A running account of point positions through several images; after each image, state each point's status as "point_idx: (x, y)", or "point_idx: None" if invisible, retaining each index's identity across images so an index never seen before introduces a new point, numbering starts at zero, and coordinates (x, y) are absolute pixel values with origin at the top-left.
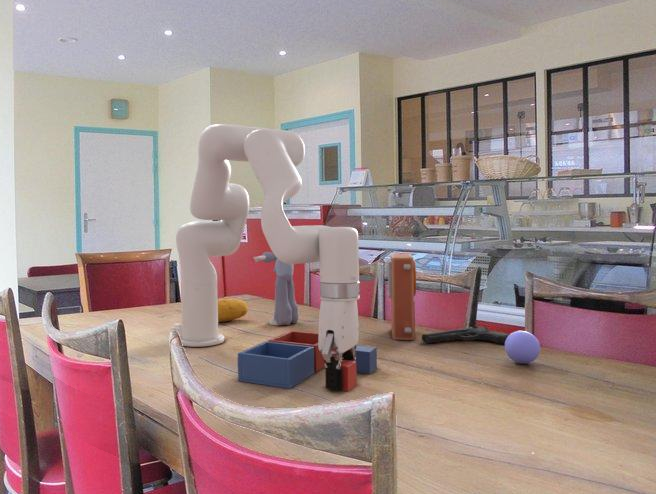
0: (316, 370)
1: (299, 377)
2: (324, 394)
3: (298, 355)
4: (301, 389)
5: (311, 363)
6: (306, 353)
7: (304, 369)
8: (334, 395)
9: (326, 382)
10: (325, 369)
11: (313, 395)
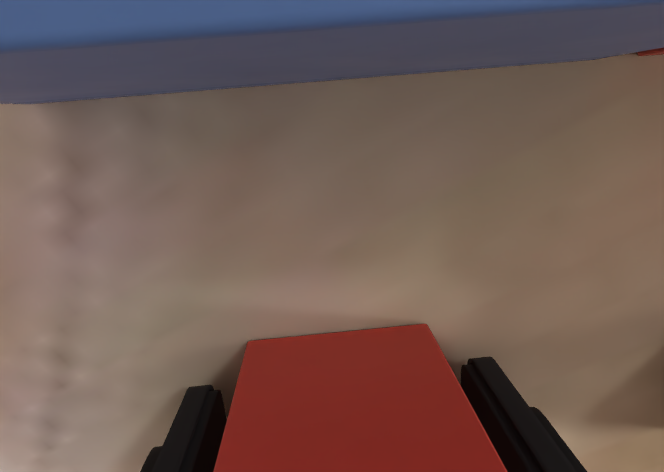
0: (652, 54)
1: (237, 83)
2: (118, 394)
3: (83, 46)
4: (96, 203)
5: (613, 47)
6: (571, 22)
7: (377, 69)
8: (145, 448)
9: (178, 417)
10: (217, 464)
11: (43, 348)
